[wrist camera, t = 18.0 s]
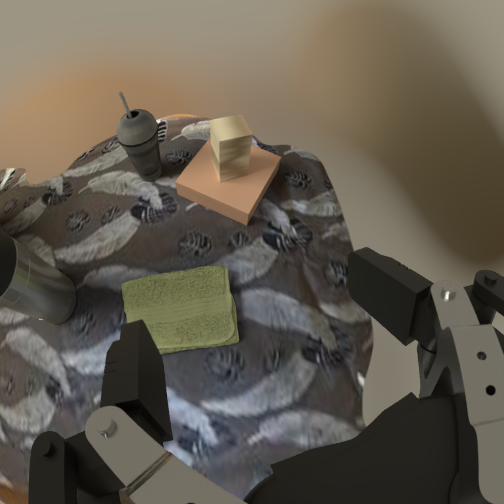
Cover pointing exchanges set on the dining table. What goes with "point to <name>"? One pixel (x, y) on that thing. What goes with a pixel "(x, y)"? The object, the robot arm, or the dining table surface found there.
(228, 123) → the birch block
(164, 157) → the dining table surface
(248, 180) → the terracotta plinth
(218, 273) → the washcloth
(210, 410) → the dining table surface
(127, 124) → the beverage cup
